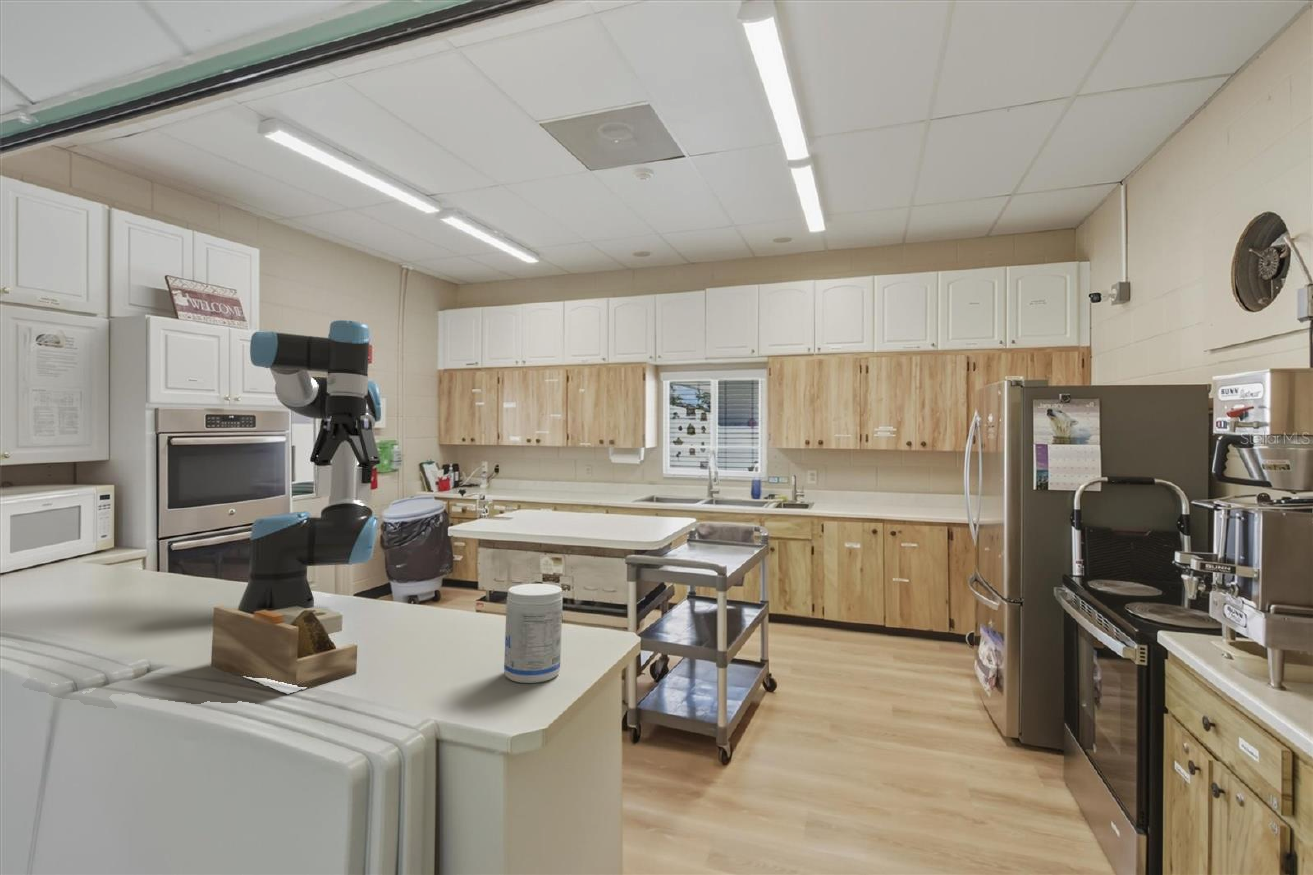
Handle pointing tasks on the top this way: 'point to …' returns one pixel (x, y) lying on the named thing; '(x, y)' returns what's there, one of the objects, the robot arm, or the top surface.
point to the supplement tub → (533, 632)
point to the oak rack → (273, 650)
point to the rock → (311, 635)
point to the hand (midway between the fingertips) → (342, 498)
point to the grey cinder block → (326, 617)
